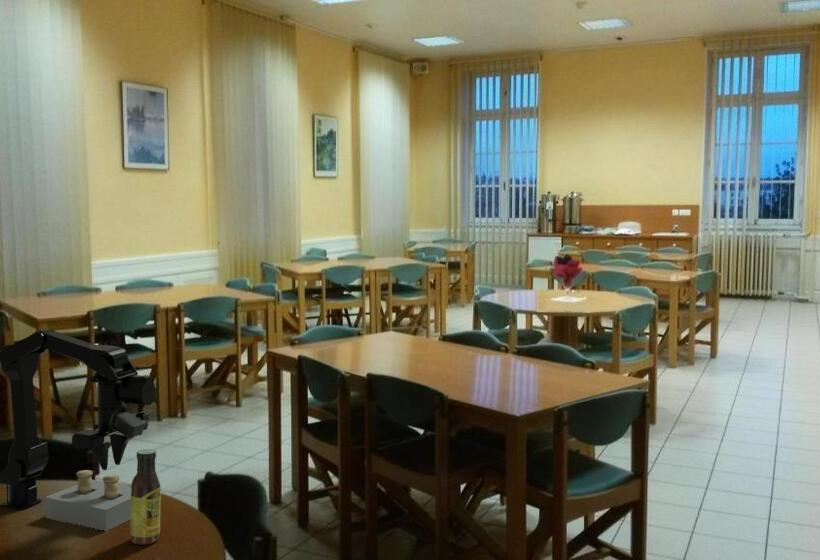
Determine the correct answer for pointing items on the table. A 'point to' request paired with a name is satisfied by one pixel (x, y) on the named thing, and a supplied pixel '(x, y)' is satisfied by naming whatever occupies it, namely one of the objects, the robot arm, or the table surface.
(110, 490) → the peg
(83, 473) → the peg
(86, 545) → the table surface
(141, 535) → the sauce bottle
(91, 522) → the board
